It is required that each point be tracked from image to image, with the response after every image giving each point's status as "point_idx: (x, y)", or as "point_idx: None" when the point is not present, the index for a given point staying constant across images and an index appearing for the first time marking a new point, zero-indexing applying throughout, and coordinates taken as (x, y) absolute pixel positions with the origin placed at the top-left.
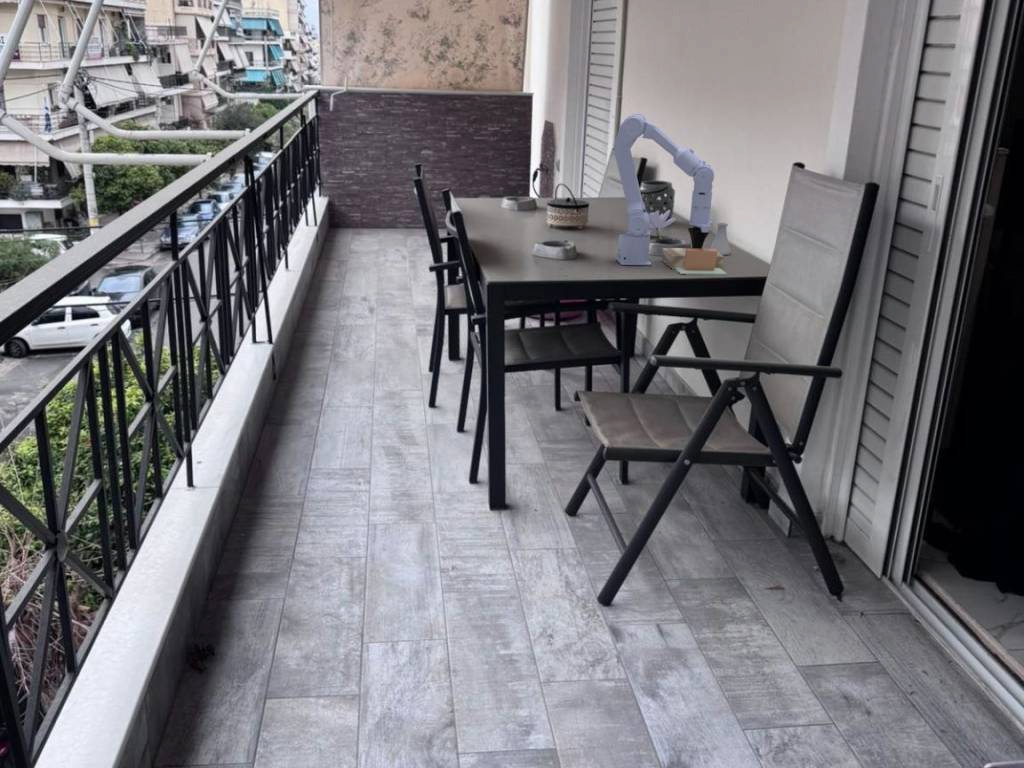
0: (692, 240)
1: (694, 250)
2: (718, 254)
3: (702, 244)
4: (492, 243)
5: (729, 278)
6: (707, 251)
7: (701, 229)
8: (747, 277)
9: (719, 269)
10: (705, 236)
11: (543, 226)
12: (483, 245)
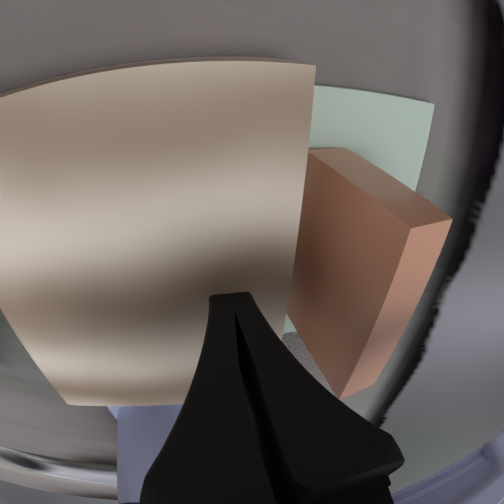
0: (254, 424)
1: (382, 361)
2: (198, 93)
3: (282, 344)
4: (75, 492)
5: (476, 121)
6: (421, 291)
7: (408, 493)
8: (471, 15)
9: (329, 103)
10: (345, 413)
11: None
12: (96, 497)
